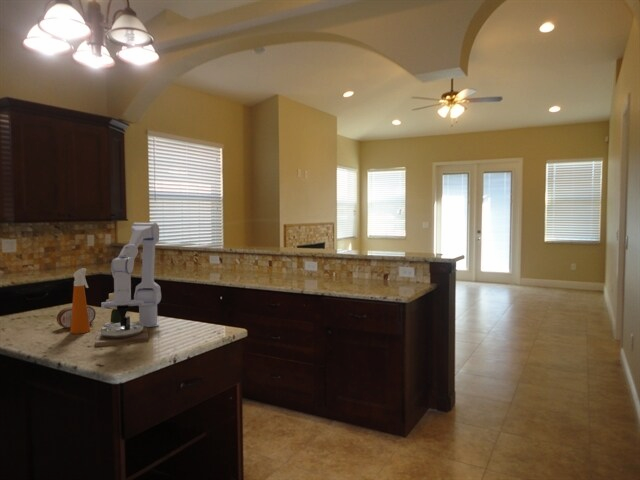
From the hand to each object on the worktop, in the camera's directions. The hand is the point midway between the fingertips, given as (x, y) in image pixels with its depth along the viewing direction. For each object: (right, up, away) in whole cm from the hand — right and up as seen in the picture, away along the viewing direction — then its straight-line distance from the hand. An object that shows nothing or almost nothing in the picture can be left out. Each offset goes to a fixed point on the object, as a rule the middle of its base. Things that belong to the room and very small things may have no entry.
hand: (123, 325), depth 171 cm
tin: (-29, -5, +22) cm, 37 cm away
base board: (-2, -6, +5) cm, 8 cm away
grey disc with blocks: (-2, -4, +5) cm, 7 cm away
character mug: (-14, -4, +27) cm, 31 cm away
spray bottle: (-22, -5, +12) cm, 25 cm away
